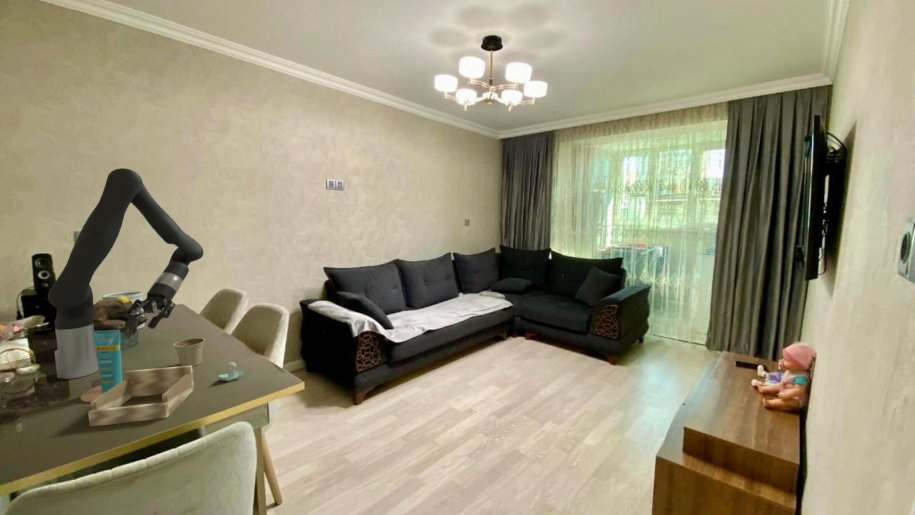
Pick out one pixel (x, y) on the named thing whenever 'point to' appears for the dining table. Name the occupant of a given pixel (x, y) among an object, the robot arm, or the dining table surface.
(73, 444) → the dining table surface
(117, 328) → the brown and grey lump
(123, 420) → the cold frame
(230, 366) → the pacifier
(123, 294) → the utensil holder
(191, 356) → the flower pot
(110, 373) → the tube
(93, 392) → the saucer
